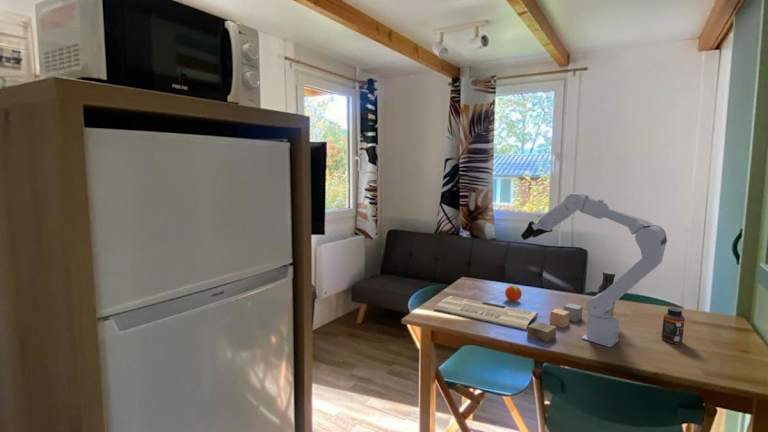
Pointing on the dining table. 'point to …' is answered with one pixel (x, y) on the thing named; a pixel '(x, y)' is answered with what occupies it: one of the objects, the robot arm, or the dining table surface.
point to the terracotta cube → (559, 318)
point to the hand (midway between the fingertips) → (527, 236)
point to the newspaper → (486, 312)
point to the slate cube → (574, 311)
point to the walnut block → (541, 332)
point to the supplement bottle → (673, 326)
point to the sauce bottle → (607, 284)
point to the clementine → (513, 293)
